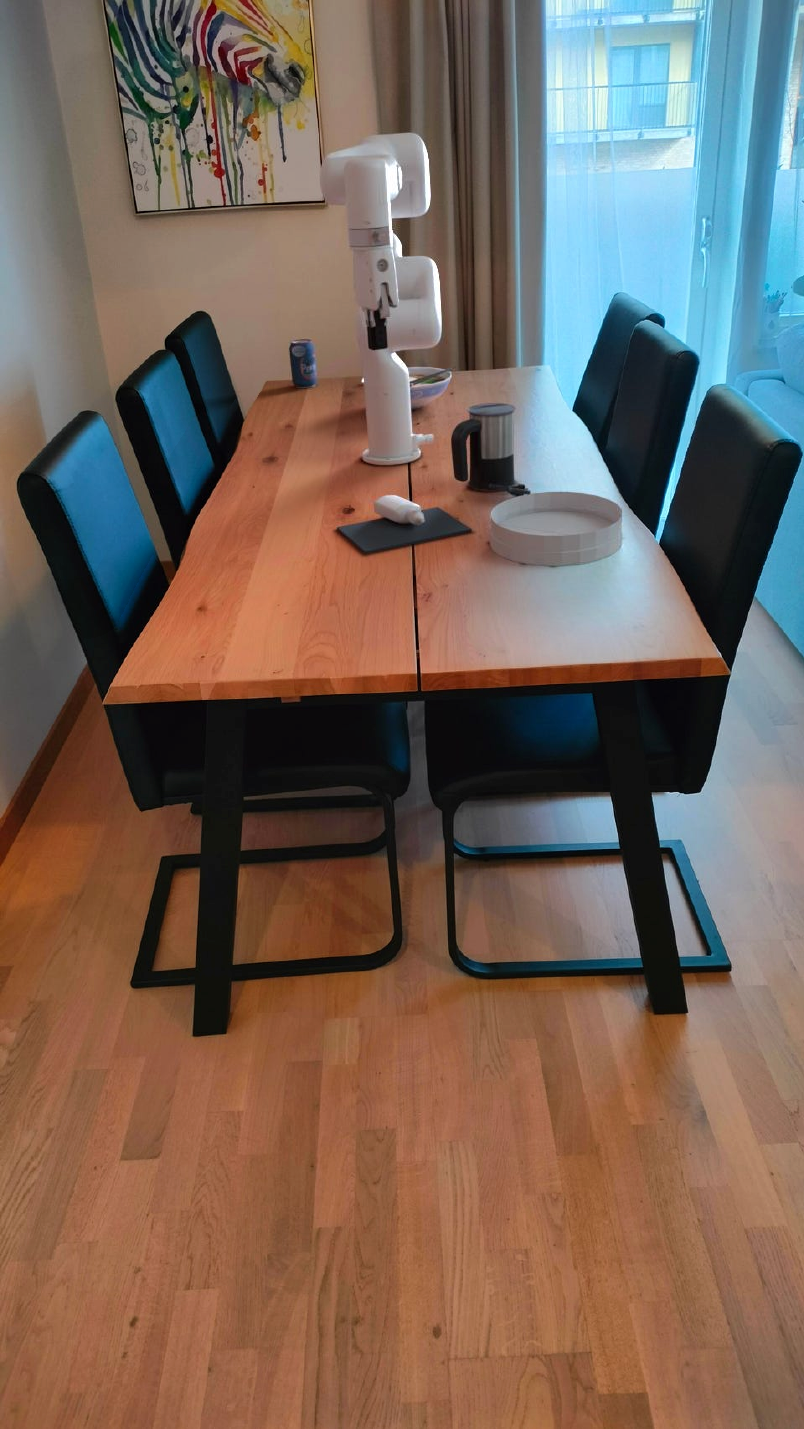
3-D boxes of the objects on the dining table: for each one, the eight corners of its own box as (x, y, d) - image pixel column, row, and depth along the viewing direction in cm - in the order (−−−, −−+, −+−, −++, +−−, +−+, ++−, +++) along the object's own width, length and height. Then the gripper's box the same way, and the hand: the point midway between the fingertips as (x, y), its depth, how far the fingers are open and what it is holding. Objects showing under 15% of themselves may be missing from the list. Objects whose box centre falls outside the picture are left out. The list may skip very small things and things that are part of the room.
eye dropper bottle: (379, 487, 186) (416, 503, 177) (401, 497, 190) (439, 513, 181) (369, 510, 187) (406, 527, 178) (392, 520, 191) (429, 537, 182)
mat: (437, 509, 191) (437, 506, 191) (471, 532, 180) (471, 529, 179) (336, 530, 185) (336, 527, 184) (365, 554, 173) (365, 551, 173)
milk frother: (484, 475, 208) (483, 400, 200) (554, 485, 199) (555, 407, 192) (446, 495, 198) (443, 418, 190) (517, 507, 189) (517, 426, 182)
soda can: (307, 389, 284) (303, 344, 278) (288, 387, 287) (283, 343, 281) (322, 384, 289) (318, 339, 283) (303, 382, 292) (298, 338, 286)
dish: (590, 574, 160) (591, 544, 158) (466, 554, 171) (465, 525, 168) (642, 528, 176) (643, 500, 174) (525, 512, 187) (525, 485, 184)
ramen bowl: (400, 391, 275) (398, 360, 271) (473, 399, 263) (472, 366, 259) (342, 414, 258) (339, 380, 254) (416, 423, 246) (414, 388, 242)
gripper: (407, 239, 174) (413, 352, 183) (374, 234, 186) (381, 340, 195) (366, 244, 171) (374, 358, 181) (335, 238, 183) (344, 345, 193)
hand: (378, 348), depth 188 cm, fingers closed
